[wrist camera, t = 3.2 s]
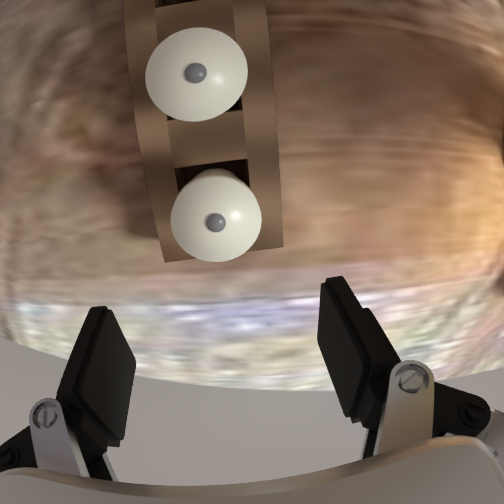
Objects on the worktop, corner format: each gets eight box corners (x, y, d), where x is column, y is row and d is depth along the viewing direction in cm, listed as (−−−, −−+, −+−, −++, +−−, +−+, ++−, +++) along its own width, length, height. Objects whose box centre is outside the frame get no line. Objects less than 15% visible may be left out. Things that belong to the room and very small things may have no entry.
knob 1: (256, 83, 19) (269, 78, 14) (196, 131, 20) (189, 142, 16) (206, 29, 16) (203, 8, 12) (146, 79, 18) (124, 74, 13)
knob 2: (266, 198, 23) (279, 226, 19) (213, 241, 25) (213, 278, 20) (219, 145, 21) (220, 159, 16) (164, 193, 22) (151, 221, 18)
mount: (134, -40, 14) (123, -58, 11) (249, -56, 15) (254, -76, 11) (170, 240, 28) (164, 262, 25) (274, 227, 29) (283, 247, 25)
